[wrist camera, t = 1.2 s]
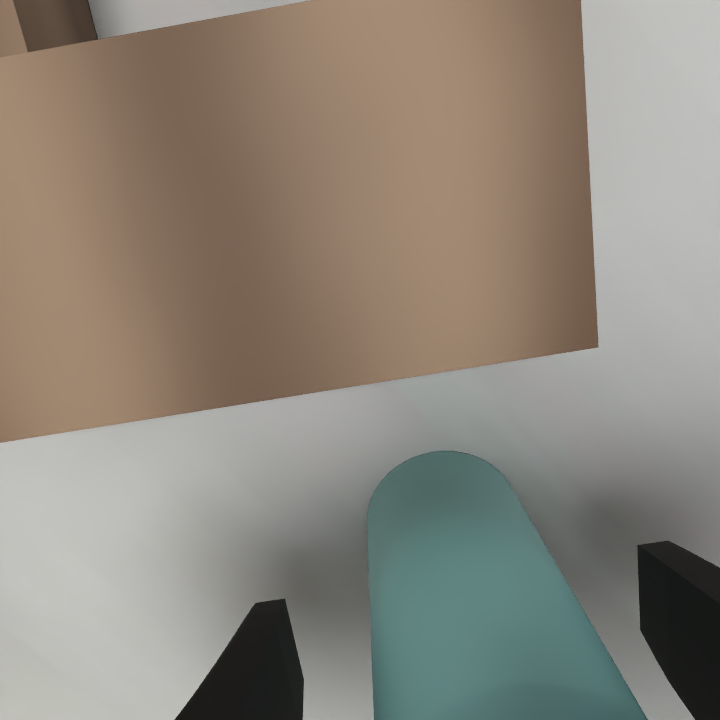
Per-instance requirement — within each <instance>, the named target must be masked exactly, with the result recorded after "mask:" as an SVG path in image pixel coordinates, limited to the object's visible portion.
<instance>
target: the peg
mask: <svg viewBox="0 0 720 720" xmlns="http://www.w3.org/2000/svg"><path fill="white" fill-rule="evenodd" d="M367 545H368V571H369V597H370V623H371V649H372V675H373V701H374V720H648V719H647V718H646V716H645V714H644V713H643V711H642V709H641V707H640V706H639V704H638V702H637V701H636V699H635V697H634V696H633V694H632V692H631V690H630V689H629V687H628V685H627V684H626V682H625V680H624V678H623V677H622V675H621V673H620V672H619V670H618V668H617V667H616V665H615V663H614V661H613V660H612V658H611V656H610V655H609V653H608V651H607V649H606V648H605V646H604V644H603V643H602V641H601V639H600V638H599V636H598V634H597V632H596V631H595V629H594V627H593V626H592V624H591V622H590V620H589V619H588V617H587V615H586V614H585V612H584V610H583V609H582V607H581V605H580V603H579V602H578V600H577V598H576V597H575V595H574V593H573V591H572V590H571V588H570V586H569V585H568V583H567V581H566V580H565V578H564V576H563V574H562V573H561V571H560V569H559V568H558V566H557V564H556V563H555V561H554V559H553V557H552V556H551V554H550V552H549V551H548V549H547V547H546V545H545V544H544V542H543V540H542V539H541V537H540V535H539V534H538V532H537V530H536V528H535V527H534V525H533V523H532V522H531V520H530V518H529V516H528V515H527V513H526V511H525V510H524V508H523V506H522V505H521V503H520V501H519V499H518V498H517V496H516V494H515V493H514V491H513V489H512V487H511V486H510V484H509V483H508V481H507V480H506V479H505V477H504V476H503V475H502V474H501V473H500V472H499V471H498V470H497V469H496V468H494V467H493V466H492V465H491V464H489V463H487V462H486V461H484V460H482V459H480V458H478V457H475V456H473V455H469V454H466V453H461V452H454V451H439V452H431V453H426V454H422V455H419V456H416V457H413V458H411V459H409V460H407V461H405V462H403V463H402V464H400V465H399V466H397V467H396V468H394V469H393V470H392V471H391V472H390V473H388V474H387V476H386V477H385V478H384V479H383V480H382V481H381V482H380V484H379V485H378V487H377V488H376V490H375V492H374V494H373V496H372V498H371V501H370V504H369V507H368V512H367Z"/></svg>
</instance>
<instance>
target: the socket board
mask: <svg viewBox="0 0 720 720" xmlns="http://www.w3.org/2000/svg"><path fill="white" fill-rule="evenodd" d="M597 347H598V330H597V310H596V290H595V271H594V251H593V231H592V212H591V192H590V172H589V153H588V133H587V113H586V94H585V74H584V54H583V35H582V15H581V0H311V1H306V2H300V3H295V4H289V5H284V6H278V7H273V8H267V9H262V10H256V11H251V12H246V13H240V14H235V15H229V16H224V17H218V18H213V19H207V20H202V21H197V22H191V23H186V24H180V25H175V26H169V27H164V28H158V29H153V30H147V31H142V32H137V33H131V34H126V35H120V36H115V37H109V38H104V39H98V40H97V36H96V32H95V28H94V25H93V21H92V17H91V13H90V9H89V5H88V1H87V0H0V443H1V442H7V441H14V440H20V439H26V438H32V437H39V436H45V435H51V434H57V433H64V432H70V431H76V430H83V429H89V428H95V427H101V426H108V425H114V424H120V423H126V422H133V421H139V420H145V419H152V418H158V417H164V416H170V415H177V414H183V413H189V412H195V411H202V410H208V409H214V408H221V407H227V406H233V405H239V404H246V403H252V402H258V401H264V400H271V399H277V398H283V397H290V396H296V395H302V394H308V393H315V392H321V391H327V390H333V389H340V388H346V387H352V386H359V385H365V384H371V383H377V382H384V381H390V380H396V379H402V378H409V377H415V376H421V375H428V374H434V373H440V372H446V371H453V370H459V369H465V368H471V367H478V366H484V365H490V364H497V363H503V362H509V361H515V360H522V359H528V358H534V357H540V356H547V355H553V354H559V353H565V352H572V351H578V350H584V349H591V348H597Z"/></svg>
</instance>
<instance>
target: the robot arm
mask: <svg viewBox="0 0 720 720" xmlns="http://www.w3.org/2000/svg"><path fill="white" fill-rule="evenodd" d="M637 547H638V575H639V604H640V630H641V632H642V634H643V636H644V638H645V640H646V641H647V643H648V645H649V647H650V649H651V651H652V653H653V654H654V656H655V658H656V660H657V662H658V663H659V665H660V667H661V669H662V670H663V672H664V674H665V676H666V677H667V679H668V681H669V683H670V684H671V685H672V687H673V688H674V690H675V691H676V693H677V694H678V696H679V697H680V699H681V700H682V701H683V703H684V704H685V706H686V707H687V709H688V710H689V711H690V713H691V714H692V716H693V717H694V718H695V720H720V568H719V567H717V566H715V565H714V564H712V563H710V562H708V561H706V560H704V559H702V558H701V557H699V556H697V555H695V554H693V553H691V552H689V551H688V550H686V549H684V548H682V547H680V546H678V545H676V544H674V543H672V542H670V541H663V542H656V543H649V544H643V545H637ZM303 690H304V678H303V674H302V670H301V665H300V661H299V657H298V653H297V648H296V644H295V640H294V636H293V631H292V627H291V623H290V619H289V614H288V610H287V606H286V601H285V599H279V600H272V601H266V602H259V603H255V605H254V606H253V607H252V609H251V610H250V612H249V613H248V615H247V616H246V618H245V619H244V621H243V622H242V624H241V625H240V627H239V628H238V630H237V632H236V633H235V635H234V636H233V638H232V639H231V641H230V642H229V644H228V645H227V647H226V648H225V650H224V651H223V653H222V654H221V656H220V657H219V659H218V660H217V662H216V663H215V665H214V666H213V668H212V669H211V670H210V672H209V673H208V675H207V676H206V678H205V679H204V681H203V682H202V683H201V685H200V686H199V688H198V689H197V691H196V692H195V693H194V695H193V696H192V697H191V699H190V700H189V702H188V703H187V704H186V705H185V707H184V708H183V709H182V711H181V712H180V713H179V715H178V716H177V717H176V719H175V720H303Z"/></svg>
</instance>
